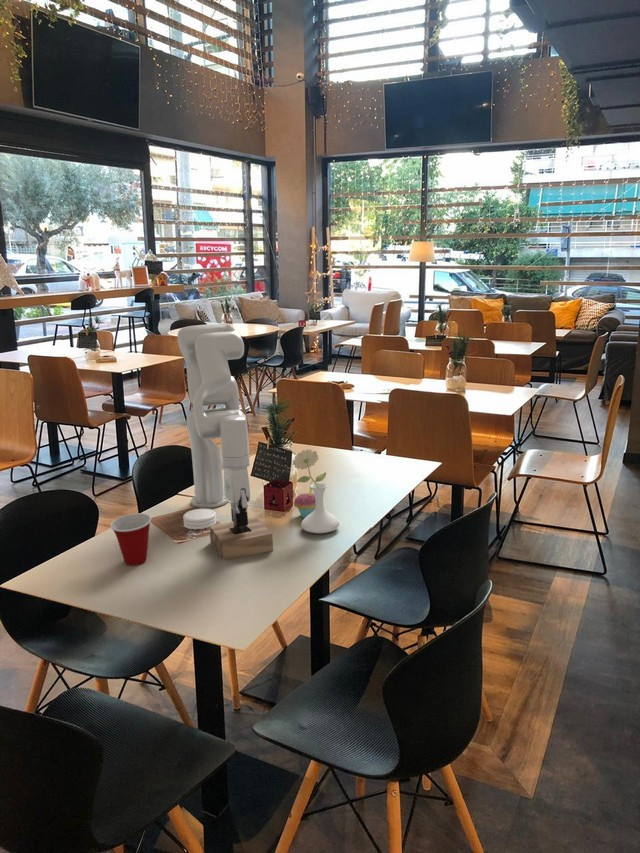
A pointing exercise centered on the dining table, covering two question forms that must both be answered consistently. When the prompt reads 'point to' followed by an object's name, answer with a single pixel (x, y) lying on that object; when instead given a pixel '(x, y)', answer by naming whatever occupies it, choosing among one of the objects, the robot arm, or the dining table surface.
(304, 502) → the cupcake
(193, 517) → the white round disc stack
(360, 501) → the dining table surface
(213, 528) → the socket block
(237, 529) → the steel pin
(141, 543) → the plastic cup
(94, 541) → the dining table surface
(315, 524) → the flower in vase
